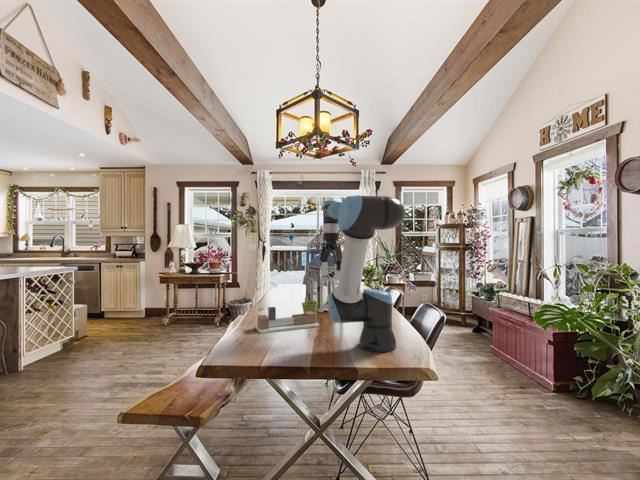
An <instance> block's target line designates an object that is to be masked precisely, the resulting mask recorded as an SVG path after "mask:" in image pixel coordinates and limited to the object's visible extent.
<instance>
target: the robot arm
mask: <svg viewBox="0 0 640 480" xmlns="http://www.w3.org/2000/svg"><path fill="white" fill-rule="evenodd" d="M322 211H323V214H322V216H323V219H322V220H323V222H322V223H323V224H322V228H323V229H322V231H323V234H322V235H323V238H322V240H323V241H324V242H322V248H321V251H320V255H319V261H320V262H321V275H322V276H329V275H328V270H329V269H328V265H329V264H328V263H329V262H328V258H329V256H330V254H331V253H332V257H333V259H334V261H335V262H334V278H336V279H338V284H337V286H335V287H333V290H332V291H333V292H332V293H329V294H328V295H327V306H328V307H327V309H328V314H329V318H330V321H331V322H332V323H335V324H347V323H363V325H362V326H363V327H362V331H361V333H360V337H359V339H358V346H359V347H360V349H363V350H365V351H370V352H375V353H377V352H378V353H385V352H391V351H394V350H396V349H397V340H396V338H395V334H394V330H393V299H392V298H393V297H392V294H391V293H390V292H388V291H385V290H382V289H380V290H379V289H375V288H374V289H373V288H364V289H363V291H362V290H361V289H360V288H361V285H362V279H363V273H364V268H365V263H366V255H367V251H368V247H369V240H371V239H373V238H374V236H375V232H376V230H378V231H379V230H382V231H383V230H390V229H394V228H396V227H398V226H399V225H400V224H402V222H403V221H404V220H405V216H406V208H405V206H404V204H403V203H402V202H401V201H400V200H398V199H397V198H395V197H392V196H388V195H387V196H384V195H383V196H382V195H381V196H377V195H360V194H359V195H356V194H355V195H347V196H346V197H344V198H343V199H342V201H337V200H334V199H332V200H325V201H323V207H322ZM340 229H341V232H342V234H343V235H344V236H345V237H344V242H343V250H342V249H341V242H337V241H339V240H340V235H339V233H338V232H339V230H340Z"/></svg>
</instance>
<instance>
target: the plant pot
mask: <svg viewBox="0 0 640 480" xmlns="http://www.w3.org/2000/svg"><path fill="white" fill-rule="evenodd" d="M318 305H319V302H316V301H304V302H301V306H302V311H303V313H304V312H307V311H312V312H313V313H315V314H316V315H317V309H318Z"/></svg>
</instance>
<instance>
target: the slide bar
mask: <svg viewBox="0 0 640 480" xmlns="http://www.w3.org/2000/svg"><path fill="white" fill-rule="evenodd" d="M276 310H277V309H276V307H275V306H268V307H267V317H268V318H269V327H274V326H283V325H292V324H295V317H292V316H289V317H279V318H276V317H277V314H276V313H277V311H276Z"/></svg>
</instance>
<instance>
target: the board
mask: <svg viewBox="0 0 640 480" xmlns="http://www.w3.org/2000/svg"><path fill="white" fill-rule="evenodd" d="M291 317H295V324H292V325H283V326H274V327H269V318H268V315H266V314H259V315H258V314H257V324H255V325H254V328H255V329H256V330H257V331H258V333H259V334H260V335H261V334H262V335H263V334H270V333H271V334H272V333H279V332H286V331H289V332H290V331H295V330H296V329H297V330H303V328H306V329H312V328H311V327H315V328H320V324H319V323H318V322H317V313H316V314H315V313H313V312H312V311H307V312H303V313H298V314H292V315H291Z"/></svg>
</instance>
